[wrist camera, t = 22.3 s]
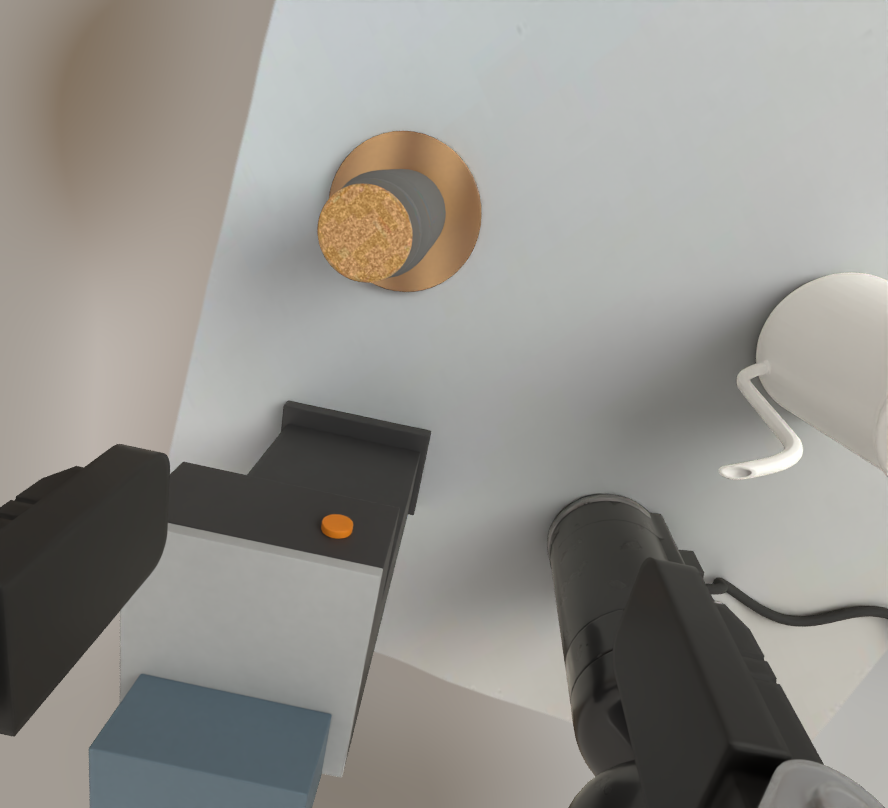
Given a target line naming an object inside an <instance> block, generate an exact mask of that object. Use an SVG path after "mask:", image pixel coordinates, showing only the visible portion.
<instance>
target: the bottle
mask: <svg viewBox="0 0 888 808" xmlns="http://www.w3.org/2000/svg"><path fill="white" fill-rule="evenodd" d="M445 218H446V210H445V203H444V199H443V197H442V194H441V192H440V190H439V189H438V187H437V186H436V185H435V183H434V182H433V181H432V180H430V179H429V178H428V177H427V176H425V175H423V174H421V173H419V172H417V171H413V170H409V169H388V170H376V171H370V172H366V173H363V174H360V175H358V176H356V177H354V178H352V179H351V180H350V181H349V182H347V183H346V184H345V185H344V186H343V187H342V188H341V189H340V190H339V191H337V192H336V193H335V194H333V195H332V196H331V197H330V198H329V200H328V201H327V202H326V204H325V205H324V207H323V209H322V211H321V214H320V217H319V221H318V240H319V244H320V248H321V250H322V252H323V255H324V257H325V258H326V260H327V261H328V263H329V264H330V265H331V266H332V267H333V268H334V269H335V270H336V271H337V272H339V273H340V274H342V275H343V276H345V277H347V278H349V279H351V280H354V281H358V282H377V281H381V280H384V279H387V278H391V277H396V276H399V275H401V274H404V273H406V272H408V271H409V270H411V269H412V268H413V267H415V266H416V265H417V264H418V263H419V262H420V261H421V260H422V259H423V257H424V256H425V255H426V254H427V252H428V251H429V250H430V248H431V247H432V246H433V245H434V243H435V242H436V240H437V239H438V237H439V236H440V234H441V232H442V230H443V227H444V223H445Z"/></svg>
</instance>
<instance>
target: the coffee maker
mask: <svg viewBox="0 0 888 808" xmlns="http://www.w3.org/2000/svg"><path fill="white" fill-rule="evenodd" d="M430 435H431V431H428V430H424V429H419V428H414V427H410V426H405V425H400V424H396V423H391V422H386V421H381V420H377V419H372V418H367V417H363V416H358V415H353V414H349V413H344V412H339V411H335V410H330V409H325V408H320V407H316V406H311V405H306V404H302V403H297V402H292V401H288V402H287V403H286V404H285V405H284V409H283V418H282V427H281V433H280V434H279V436H278V437H277V438H276V439H275V441H274V442H273V443H272V444H271V446H270V447H269V448H268V449H267V451H266V452H265V453H264V454H263V456H262V457H261V458H260V459H259V461H258V462H257V463H256V465H255V466H254V467H253V468H252V470H251V471H250V472H249V473H248V475H243V474H238V473H234V472H229V471H224V470H220V469H215V468H210V467H206V466H201V465H196V464H191V463H187V462H183V463H182V464H181V465H179V466H178V467H177V468H176V469H175V470H174V471H173V472H172V473H171V474H170V479H169V505H168V531H167V540H166V544H165V548H164V551H163V554H162V556H161V558H160V561H159V563H158V564H157V566H156V568H155V569H154V571H153V572H152V573H151V574H150V576H149V577H148V578H147V579H146V580H145V582H144V583H143V584H142V585H141V586H140V588H139V589H138V590H137V591H136V592H135V594H134V595H133V596H132V597H131V598H130V600H129V601H128V602H127V603H126V604H125V605H124V607H123V608H122V609H121V610H120V704H119V706H118V707H117V709H116V710H115V711H114V713H113V714H112V716H111V717H110V719H109V720H108V722H107V723H106V724H105V726H104V727H103V729H102V730H101V732H100V733H99V734H98V736H97V737H96V739H95V740H94V742H93V743H92V744H91V746H90V747H89V783H90V785H89V786H90V808H312V806H313V802H314V799H315V795H316V792H317V788H318V785H319V781H320V778H321V774H327V775H332V776H337V777H342V776H343V772H344V768H345V764H346V759H347V755H348V752H349V748H350V744H351V739H352V736H353V732H354V727H355V723H356V720H357V715H358V712H359V707H360V704H361V700H362V695H363V692H364V687H365V683H366V680H367V676H368V671H369V668H370V664H371V659H372V655H373V652H374V648H375V644H376V640H377V636H378V632H379V628H380V624H381V620H382V615H383V611H384V607H385V603H386V599H387V595H388V591H389V587H390V583H391V579H392V575H393V571H394V567H395V563H396V559H397V555H398V551H399V547H400V543H401V539H402V535H403V531H404V527H405V523H406V519H407V515H408V514H410V515H414V511H415V507H416V502H417V497H418V493H419V488H420V483H421V478H422V473H423V469H424V464H425V459H426V454H427V449H428V445H429V440H430Z"/></svg>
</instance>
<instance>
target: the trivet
mask: <svg viewBox="0 0 888 808" xmlns="http://www.w3.org/2000/svg"><path fill="white" fill-rule="evenodd" d="M388 169H409V170H413V171H417V172H419V173H421V174H423V175H425V176H427V177H428V178H429V179H430V180H432V181H433V182H434V183H435V185H436V186H437V187H438V189H439V190H440V192H441V194H442V197H443V199H444V203H445V210H446V218H445V223H444V227H443V230H442V232H441V234H440V236H439V237H438V239H437V240H436V242H435V243H434V245H433V246H432V247H431V248H430V250H429V251H428V252H427V254H426V255H425V256H424V257H423V259H422V260H421V261H420V262H419V263H418V264H417V265H416V266H415V267H413V268H412V269H411V270H409V271H408V272H406V273H404V274H401V275H399V276H396V277H391V278H387V279H384V280H381V281H377V282H371V283H373V284H375V285H377V286H380V287H382V288H385V289H389V290H393V291H401V292H414V291H420V290H425V289H428V288H431V287H434V286H436V285H438V284H441V283H442V282H444V281H445V280H447V279H449V278H450V277H451V276H452V275H454V274H455V273H456V272H457V271H458V270H459V269H460V268H461V267H462V266H463V265H464V263H465V262H466V260H467V259H468V258H469V256H470V254H471V252H472V251H473V249H474V246H475V244H476V241H477V238H478V235H479V230H480V225H481V201H480V195H479V191H478V188H477V184H476V182H475V180H474V177H473V175H472V173H471V172H470V170H469V168H468V167H467V165H466V164H465V163H464V161H463V160H462V159H461V157H460V156H459V155H458V154H457V153H456V152H455V151H454V150H452V149H451V148H450V147H448V146H447V145H446V144H444V143H443V142H441V141H439V140H437V139H435V138H433V137H430V136H428V135H425V134H421V133H417V132H411V131H393V132H388V133H383V134H380V135H377V136H375V137H372V138H370V139H369V140H367V141H365V142H363V143H362V144H361V145H359V146H358V147H356V148H355V149H354V150H353V151H352V152H351V153H350V154H349V155H348V156H347V157H346V159H345V160H344V161H343V163H342V164H341V166H340V167H339V169H338V171H337V173H336V175H335V177H334V180H333V182H332V186H331V189H330V194H329V198H330V197H331V196H332V195H333V194H335V193H336V192H337V191H339V190H340V189H341V188H342V187H343V186H344V185H345V184H346V183H347V182H349V181H350V180H351V179H352V178H354V177H356V176H358V175H360V174H363V173H366V172H370V171H376V170H388Z"/></svg>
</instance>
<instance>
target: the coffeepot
mask: <svg viewBox="0 0 888 808" xmlns="http://www.w3.org/2000/svg"><path fill="white" fill-rule="evenodd" d="M757 376H759V378H760V381H761V383H762V385H763V387H764V388H765V390H766V391H767V393H768V394H769V395H770V396H771V398H772V399H773V400H774V401H775V402H777V403H778V404H779V405H780V406H782V407H783V408H785V409H786V410H788V411H789V412H791V413H792V414H794V415H796V416H797V417H799V418H800V419H802V420H803V421H805V422H807V423H808V424H810V425H811V426H813V427H814V428H816V429H818V430H819V431H821V432H822V433H824V434H825V435H827V436H829V437H830V438H832V439H833V440H835V441H836V442H838V443H840V444H841V445H843V446H844V447H846V448H847V449H849V450H851V451H852V452H854V453H855V454H857V455H858V456H860V457H862V458H863V459H865V460H866V461H868V462H869V463H871V464H873V465H874V466H876V467H877V468H879V469H880V470H882V471H883V472H884V473H885V475H886V476H887V477H888V281H887V280H885V279H883V278H880V277H877V276H874V275H870V274H865V273H855V272H846V273H837V274H831V275H827V276H824V277H821V278H818V279H815V280H813V281H811V282H808V283H806V284H804V285H803V286H801V287H799V288H798V289H796V290H795V291H793V292H792V293H790V294H789V295H788V296H787V297H786V298H784V299H783V300H782V301H781V302H780V303H779V304H778V305H777V307H776V308H775V309H774V310H773V311H772V313H771V314H770V316H769V317H768V319H767V320H766V322H765V324H764V326H763V328H762V331H761V333H760V336H759V339H758V343H757V349H756V364H754V365H751V366H749V367H747V368H745V369H743V370H742V371H740V373H739V374H738V375H737V379H736V382H737V386H738V388H739V389H740V391H741V392H742V394H743V395H744V396H745V397H746V399H747V400H748V401H749V402H750V404H751V405H752V406H753V407H754V409H755V410H756V411H757V412H758V414H759V415H760V416H761V417H762V419H763V420H764V421H765V422H766V424H767V425H768V426H769V427H770V429H771V430H772V431H773V432H774V434H775V435H776V436H777V438H778V439H779V440H780V442H781V443H782V444H783V446H784V450H783V451H782V452H780V453H778V454H776V455H773V456H770V457H767V458H762V459H757V460H752V461H747V462H742V463H736V464H731V465H725V466H722V467H720V468H719V473H720V474H721V475H722V476H723V477H725V478H728V479H733V480H741V479H748V478H753V477H758V476H763V475H768V474H772V473H776V472H779V471H782V470H785V469H787V468H789V467H791V466H793V465H794V464H795V463H797V462H798V461H799V459H800V458H801V457H802V453H803V446H802V443H801V440H800V439H799V438H798V436H797V435H796V434H795V433H794V431H793V430H792V429H791V428H790V427H789V426H788V424H787V423H786V422H785V421H784V420H783V419H782V418H781V416H780V415H779V414H778V413H777V412H776V411H775V410H774V408H773V407H772V406H771V405H770V404H769V403H768V402H767V400H766V399H765V398H764V397H763V396H762V395H761V393H760V392H759V391H758V390H757V389H756V388H755V386H754V385H753V384H752V383H751V381H750V380H751V379H752V378H754V377H757Z"/></svg>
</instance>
